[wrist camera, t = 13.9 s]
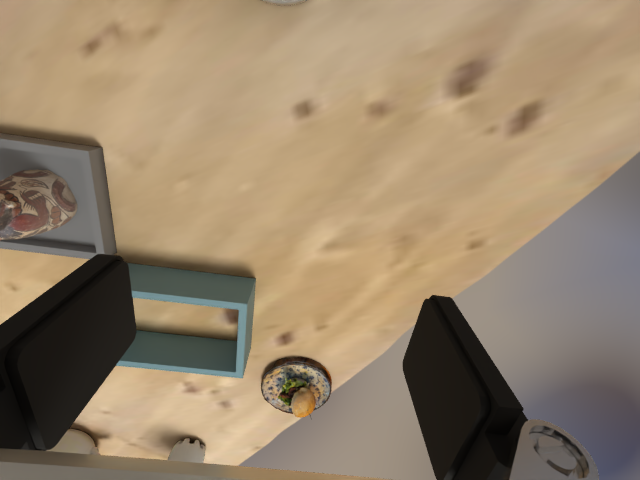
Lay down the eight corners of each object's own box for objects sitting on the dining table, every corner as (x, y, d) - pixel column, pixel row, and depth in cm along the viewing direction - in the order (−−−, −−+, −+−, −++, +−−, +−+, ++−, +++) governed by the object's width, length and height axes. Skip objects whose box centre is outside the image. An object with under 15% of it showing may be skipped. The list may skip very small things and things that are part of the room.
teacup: (53, 454, 62) (18, 502, 55) (38, 417, 57) (-2, 465, 50) (126, 459, 63) (100, 507, 55) (117, 423, 58) (88, 470, 51)
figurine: (85, 190, 38) (-7, 228, 27) (68, 234, 41) (-22, 286, 30) (23, 156, 37) (-101, 183, 26) (10, 205, 39) (-109, 248, 28)
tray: (-24, 129, 36) (-47, 131, 34) (102, 147, 37) (88, 151, 35) (8, 238, 42) (-9, 247, 40) (116, 252, 43) (105, 261, 41)
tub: (110, 260, 44) (81, 284, 38) (255, 278, 45) (247, 304, 40) (121, 333, 49) (97, 363, 44) (250, 347, 50) (242, 378, 45)
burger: (265, 351, 51) (257, 391, 44) (336, 359, 52) (339, 399, 45) (260, 402, 56) (252, 444, 49) (325, 408, 57) (326, 450, 50)
